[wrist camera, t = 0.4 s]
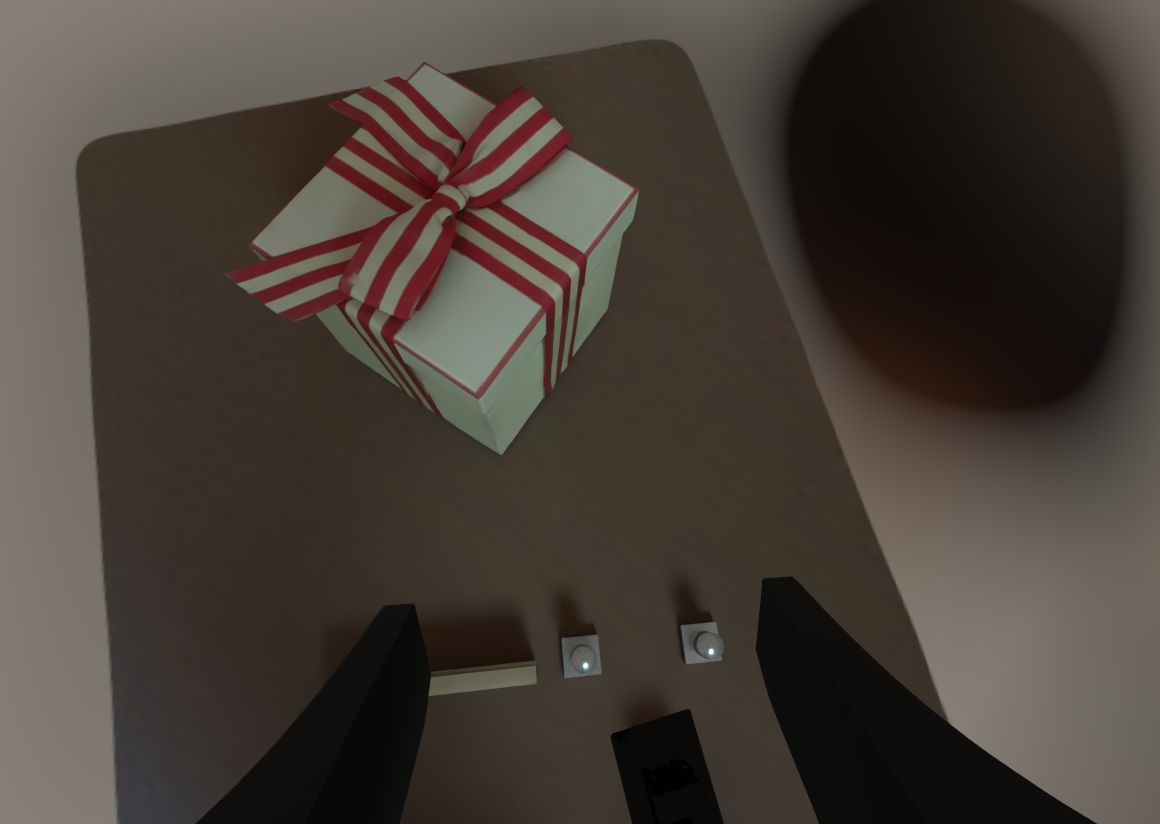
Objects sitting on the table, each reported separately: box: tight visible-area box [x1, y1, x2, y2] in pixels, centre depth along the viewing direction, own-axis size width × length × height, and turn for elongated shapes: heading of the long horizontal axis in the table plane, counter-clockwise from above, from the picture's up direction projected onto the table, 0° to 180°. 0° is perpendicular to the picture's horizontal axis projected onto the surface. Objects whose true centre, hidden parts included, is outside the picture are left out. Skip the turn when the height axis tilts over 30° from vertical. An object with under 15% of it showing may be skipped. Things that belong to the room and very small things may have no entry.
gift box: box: [225, 62, 639, 455], centre depth 38 cm, size 17×18×17 cm
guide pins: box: [561, 621, 724, 678], centre depth 36 cm, size 20×10×3 cm, turn 5°
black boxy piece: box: [611, 709, 724, 824], centre depth 36 cm, size 12×7×5 cm, turn 15°
